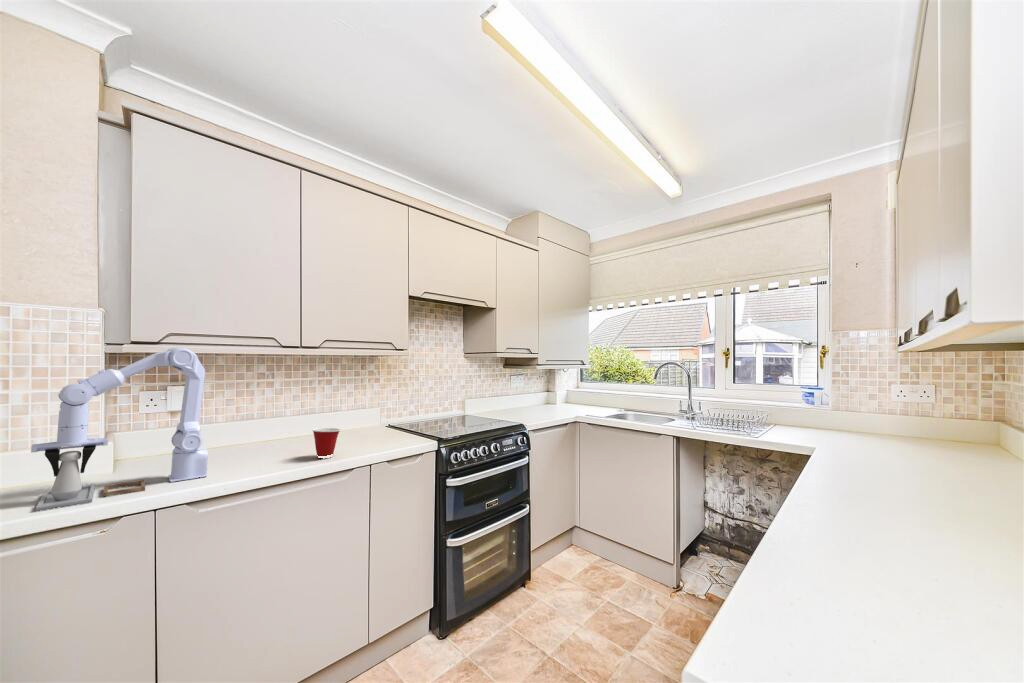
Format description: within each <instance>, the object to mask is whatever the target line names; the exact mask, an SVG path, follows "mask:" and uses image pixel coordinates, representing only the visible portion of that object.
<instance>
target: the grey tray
mask: <svg viewBox="0 0 1024 683" xmlns="http://www.w3.org/2000/svg"><path fill="white" fill-rule="evenodd" d="M95 487H96V485H95V484H90V485H89V484H88V485H84V486H83V485H82V488H81V491H80V492H79V494H78V496H77V497H75V498H72V499H68V500H61V501H59V500H55V499H54V498H53V496H52V494H51V490H50V491H49V490H48V491H44V492H43V494H42V496H41V498H40V500H39V502H38V503H37V505H36V507H35V512H36V511H37V512H41V511H40V510H43V511H48V510H47V509H49V510H54V509H53V508H55V509H59V508H58V507H61V508H65V507H64V506H68V507H72V506H71V505H74V506H78V505H77V504H80V505H83V504H82V503H86V504H90V503H89V502H93V498H94V494H95V490H94V489H96V488H95Z"/></svg>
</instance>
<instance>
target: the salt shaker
mask: <svg viewBox="0 0 1024 683" xmlns="http://www.w3.org/2000/svg"><path fill="white" fill-rule="evenodd" d="M81 459H82V452H81V450H80V451H79V450H67V451H64V452H60V454H59V462H60V464H59V470H58V475H57V476H55V479H54V482H53V485H52V487H51V490H50V491H51V494H52V496H53V498H54V499H55V500H59V501H61V500H68V499H72V498H75V497H77V496H78V494H79V492H80V491H81V488H82V487H83V485H82V479H81V473H80V467H79V461H78V460H81Z"/></svg>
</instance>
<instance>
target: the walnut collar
mask: <svg viewBox="0 0 1024 683" xmlns="http://www.w3.org/2000/svg"><path fill="white" fill-rule="evenodd" d="M140 484H141V485H140ZM133 485H135V487H133ZM126 486H128V487H129V488H127V487H126ZM119 487H121V488H123V489H120V488H119ZM125 487H126V488H125ZM111 488H115V489H114V490H112V489H111ZM116 489H117V490H116ZM109 490H111V491H109ZM144 491H146V484H145V479H140V480H132V481H127V482H119V483H113V484H105V485H104V488H103V495H102V496H103V498H105V497H104V496H108V497H111V496H110V495H114V496H118V495H117V494H120V495H125V494H131V493H132V492H133V493H137V492H144Z"/></svg>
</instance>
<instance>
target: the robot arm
mask: <svg viewBox="0 0 1024 683" xmlns="http://www.w3.org/2000/svg"><path fill="white" fill-rule="evenodd" d="M169 366H170V367H172V368H175V369H177V370H178V371H179V372H180V373H181V374H183V375H184V376H185V379H184V380H185V381H184V382H185V383H184V388H183V395H182V404H181V408H180V409H181V410H180V418H179V423H178V424H177V426H176V429H175V430H176V431H175V432H174V434H173V435H172V437H171V440H170V441H171V444H172V446H174V448H173V449H172V455H171V466H170V467H171V469H170V470H171V471H170V474H169V475H168V480H169V482H170V483H174V482H179V481H180V482H181V481H186V480H193V479H199V477H200V478H206V477H208V476H207V473H208V454H209V453H208V449H207V448H201V446H202V444H203V440H204V439H203V437H202V435H201V426H200V416H201V415H200V414H201V409H202V408H201V407H202V399H203V394H204V393H203V392H204V384H205V376H206V369H205V368H204V366H203V365H202V363H201V361H200V360H199V357H198V355H197V354H196V353H195V352H193V351H192V350H191V349H188V348H185V347H171V348H168V349H166V350H163V351H162V350H161V351H158V352H156V353H153V354H151V355H148V356H146V357H144V358H142V359H139V360H137V361H136V362H132V363H131V364H129V365H127V366H124V367H122V368H119V369H114V368H113V369H112V368H108V369H106V370H105V369H100V370H98V371H97V374H94V375H92V376H89V377H86V378H85V379H82V378H80V379H77V383H72V384H70V383H69V384H67V385H66V386H63V387H62V388H61V390H60V391H59V393H58V398H59V400H60V404H59V408H60V409H59V410H58V423H57V433H56V441H52V442H42V443H33V444H31V447H30V449H31V450H30V453H38V452H44V456H45V458H46V459H47V461H48V462H49V464H50V466H51V468H52V471H53V477H55V478H56V476H57V475H58V470H59V468H60V461H59V455H60V454H61V450H65V449H66V450H68V449H79V448H82V453H81V464H80V466H81V467H80V469H79V473H80V474H84V473H85V470H86V466H87V464H88V462H89V460H90V458H91V456H92V454H94V452H95V451H96V448H97V447H98V446H104V447H105V446H108V445H109V437H99V438H88V428H89V427H88V426H89V413H90V409H89V402H90V401H91V399H92V398H93V397H98V396H100V395H102V394H105V393H107V392H108V391H111V390H114V389H116V388H119V387H120V386H122V385H123V384H124V381H125V380H126V379H128V378H130V377H132V376H133V377H134V376H135V375H139V374H140V373H142V372H144V371H148V370H150V369H152V368H154V367H169ZM205 476H206V477H205Z"/></svg>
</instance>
